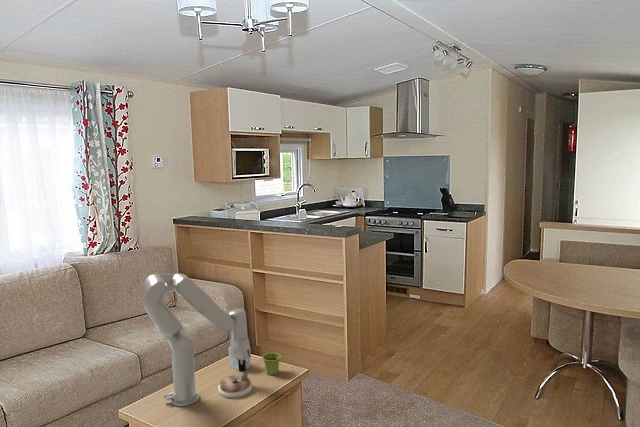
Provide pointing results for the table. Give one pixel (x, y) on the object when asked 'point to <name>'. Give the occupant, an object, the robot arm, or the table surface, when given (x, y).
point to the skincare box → (234, 363)
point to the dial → (235, 382)
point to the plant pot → (271, 363)
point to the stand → (235, 394)
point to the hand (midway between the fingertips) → (242, 370)
